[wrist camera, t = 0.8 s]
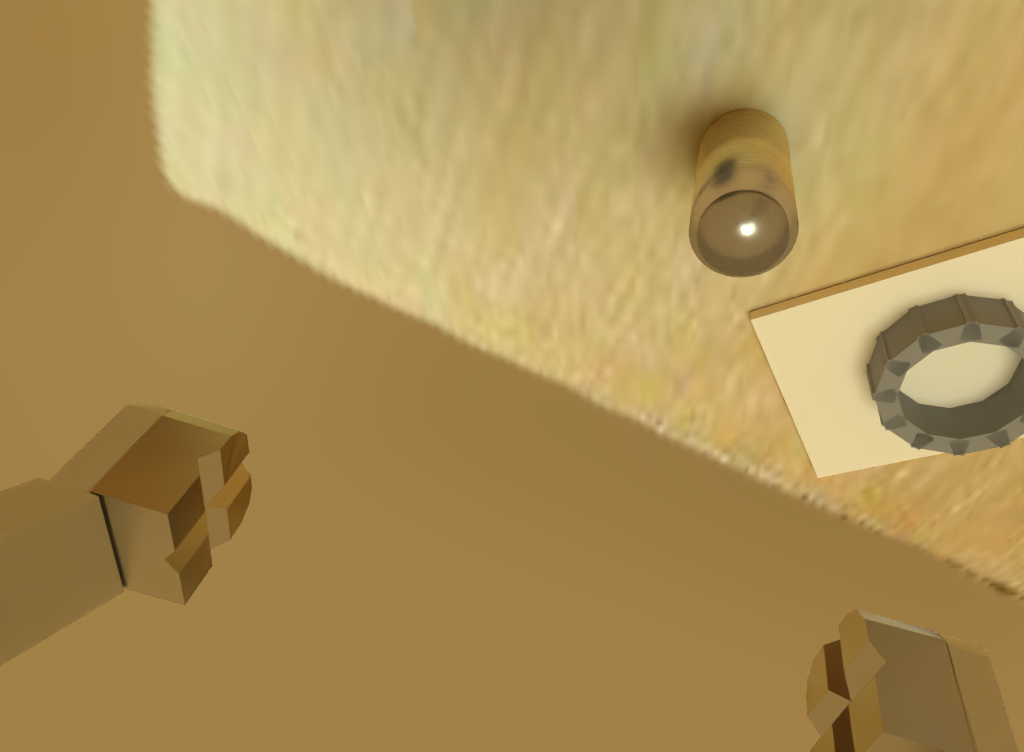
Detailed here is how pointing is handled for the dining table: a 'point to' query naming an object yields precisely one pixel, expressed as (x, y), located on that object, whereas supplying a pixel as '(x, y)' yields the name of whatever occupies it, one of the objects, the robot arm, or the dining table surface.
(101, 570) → the robot arm
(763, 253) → the cylinder
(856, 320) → the ring block
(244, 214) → the dining table surface
